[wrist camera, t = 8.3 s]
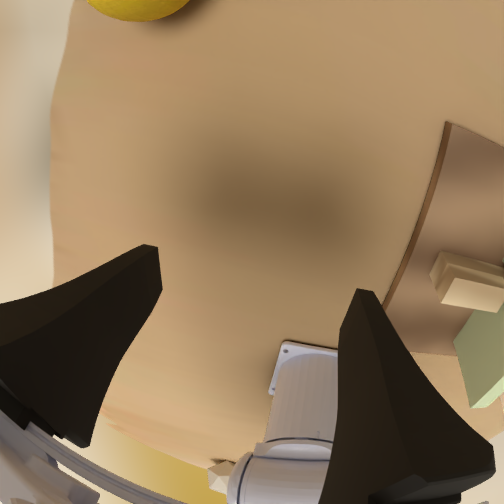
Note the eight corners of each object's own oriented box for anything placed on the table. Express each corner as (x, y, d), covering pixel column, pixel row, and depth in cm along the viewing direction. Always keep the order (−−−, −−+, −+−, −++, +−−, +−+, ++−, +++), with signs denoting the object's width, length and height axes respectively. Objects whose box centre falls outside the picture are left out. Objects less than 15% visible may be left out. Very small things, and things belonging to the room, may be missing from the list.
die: (205, 454, 54) (205, 487, 50) (211, 467, 46) (212, 503, 42) (240, 454, 56) (239, 486, 52) (250, 465, 48) (249, 500, 45)
